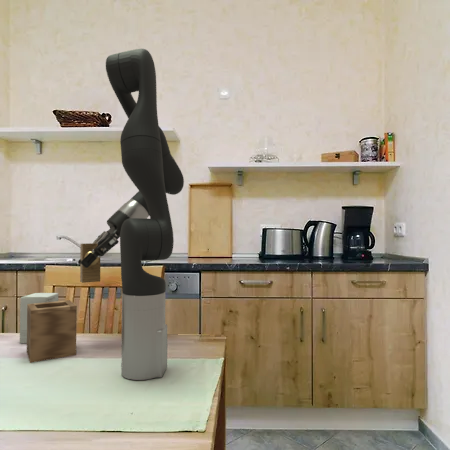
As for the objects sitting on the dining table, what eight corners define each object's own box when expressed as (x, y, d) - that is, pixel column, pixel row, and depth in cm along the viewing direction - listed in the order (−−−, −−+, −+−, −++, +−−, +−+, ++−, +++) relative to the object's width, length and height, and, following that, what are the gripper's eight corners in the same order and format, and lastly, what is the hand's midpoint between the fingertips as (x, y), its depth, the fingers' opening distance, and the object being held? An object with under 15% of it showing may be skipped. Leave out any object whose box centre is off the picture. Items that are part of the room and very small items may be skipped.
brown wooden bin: (69, 345, 97) (69, 300, 97) (76, 354, 90) (76, 305, 90) (26, 351, 92) (27, 304, 92) (30, 362, 84) (30, 310, 84)
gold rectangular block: (97, 280, 98) (97, 243, 99) (100, 281, 96) (100, 243, 96) (80, 281, 96) (80, 243, 96) (82, 282, 94) (82, 243, 94)
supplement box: (46, 344, 98) (46, 297, 98) (18, 343, 98) (19, 296, 99) (58, 336, 106) (59, 292, 106) (33, 335, 106) (33, 292, 106)
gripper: (111, 210, 106) (66, 254, 99) (126, 207, 94) (76, 256, 88) (129, 229, 109) (86, 272, 102) (146, 228, 97) (98, 277, 90)
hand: (82, 264), depth 95 cm, fingers closed on gold rectangular block, 2 cm apart
